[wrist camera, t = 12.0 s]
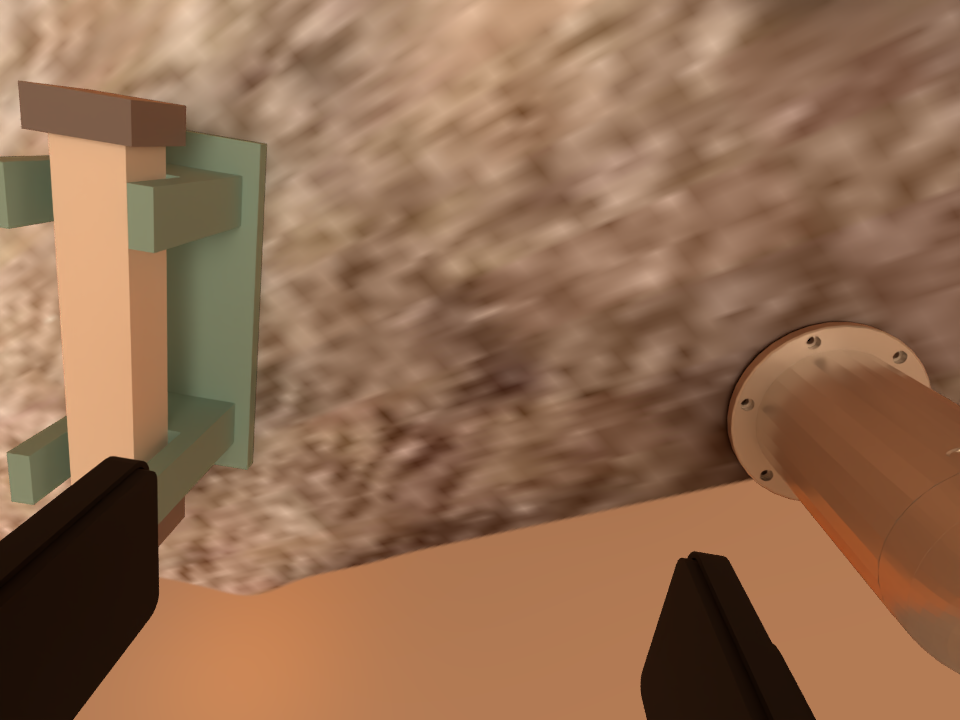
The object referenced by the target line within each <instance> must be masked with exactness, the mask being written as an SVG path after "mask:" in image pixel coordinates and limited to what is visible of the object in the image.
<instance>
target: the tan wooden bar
mask: <svg viewBox="0 0 960 720" xmlns="http://www.w3.org/2000/svg"><path fill="white" fill-rule="evenodd" d="M18 87H19V100H20V112H21V125H22V128H23V129H29V130H35V131H40V132H46V133H48V139H49V154H50V169H51V185H52V200H53V215H54V230H55V245H56V260H57V275H58V290H59V306H60V321H61V336H62V351H63V366H64V381H65V396H66V411H67V427H68V442H69V457H70V472H71V485H73V484H74V483H75V482H76V481H78V480H79V479H80V478H81V477H83V476H84V475H85V474H87V473H88V472H89V471H90V470H92V469H93V468H94V467H96V466H97V465H98V464H99V463H101V462H102V461H103V460H105V459H106V458H108V457H110V456H117V457H123V458H129V459H135V460H141V461H145V462H146V463H147V462H148V461H149V460H151V459H152V458H153V457H154V456H155V455H156V454H157V453H159V452H160V451H161V450H162V449H163V448H164V447H165V446H166V445H168V392H167V254H166V250H163V251H159V252H156V253H150V252H144V251H138V250H132V249H129V248H128V211H127V183H129V182H139V181H148V180H158V179H166V146H186V106H184V105H178V104H172V103H166V102H160V101H154V100H148V99H142V98H137V97H131V96H125V95H119V94H113V93H107V92H101V91H95V90H89V89H81V88H73V87H65V86H57V85H49V84H41V83H34V82H26V81H18ZM184 517H185V496H184V497H183V498H182V499H181V500H180V502H179V503H178V504H177V505H176V506H175V507H174V508H173V509H172V510H171V511H170V512H169V514H168V515H167V516H166V517H165V518H164V519H163V520H162V521H161V522H160V523H159V524H158V547H159V546H160V544H161V543H162V542H163V541H164V540H165V539H166V538H167V536H168V535H169V534H170V533H171V532H172V531H173V530H174V528H175V527H176V526H177V525H178V524H179V523H180V521H181V520H182V519H183V518H184Z"/></svg>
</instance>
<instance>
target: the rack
mask: <svg viewBox="0 0 960 720" xmlns="http://www.w3.org/2000/svg"><path fill="white" fill-rule="evenodd" d="M266 152H267V144H264V143H258V142H252V141H246V140H241V139H235V138H229V137H223V136H217V135H211V134H205V133H199V132H193V131H187V130H186V146H166V179H158V180H148V181H139V182H129V183H127V211H128V248H129V249H132V250H138V251H144V252H150V253H156V252H159V251H163V250H166V254H167V392H168V445H166V446H165V447H164V448H163V449H162V450H161V451H160V452H159V453H157V454H156V455H155V456H154V457H153V458H152V459H151V460H149V461H148V462H147V464H148V466H149V470H150V471H154V472H156V475H157V480H158V524H159V523H160V522H161V521H162V520H163V519H164V518H165V517H166V516H167V515H168V514H169V512H170V511H171V510H172V509H173V508H174V507H175V506H176V505H177V504H178V503H179V502H180V500H181V499H182V498H183V497H184V496H185V495H186V494H187V493H188V492H189V491H190V490H191V489H192V487H193V486H194V485H195V484H196V483H197V482H198V481H199V480H200V479H201V478H202V477H203V476H204V474H205V473H206V472H207V471H208V470H209V469H210V468H211V467H212V466H213V465H214V464H215V465H221V466H227V467H233V468H239V469H245V470H248V468H249V467H250V466H251V465H252V463H253V446H254V423H255V400H256V378H257V355H258V333H259V310H260V288H261V265H262V243H263V220H264V197H265V175H266ZM51 221H54V215H53V200H52V185H51V169H50V155H44V156H9V157H0V227H1V228H7V229H11V228H16V227H22V226H28V225H34V224H40V223H45V222H51ZM7 462H8V472H9V481H10V491H11V501H12V502H18V503H24V504H31V505H34V504H35V503H37V502H38V501H39V500H41V499H42V498H43V497H45V496H46V495H47V494H49V493H50V492H51V491H53V490H54V489H55V488H57V487H58V486H59V485H60V484H62V483H63V482H64V481H66V480H67V479H68V478H70V477H71V472H70V457H69V442H68V427H67V416H65V417H64V418H62V419H60V420H59V421H57V422H55V423H54V424H52V425H51V426H49V427H47V428H46V429H44V430H43V431H41V432H39V433H38V434H36V435H34V436H33V437H31V438H30V439H28V440H26V441H25V442H23V443H21V444H20V445H18V446H17V447H15V448H13V449H12V450H10V451H8V452H7Z"/></svg>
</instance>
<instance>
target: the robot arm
mask: <svg viewBox="0 0 960 720" xmlns="http://www.w3.org/2000/svg"><path fill="white" fill-rule="evenodd" d="M809 338H811V339H810V341H808V339H809ZM807 341H808V342H807ZM745 399H746V401H745V402H743V403H742V401H743V400H745ZM727 425H728V436H729V439H730V443H731V447H732V450H733V451H734V453H735V455H736V457H737V459H738V461H739V462H740V464H741V465H742V466H743V468H744V469H745V470H746V472H747V473H748V474H749V475H750V476H751V477H752V478H753V479H754V480H755V481H756V482H757V483H758V484H759V485H761V486H762V487H764V488H766V489H768V490H769V491H771V492H773V493H775V494H777V495H780V496H783V497H785V498H788V499H793V500H798V501H801V502H802V504H803V505H804V506H805V507H806V509H807V510H808V511H809V512H810V513H811V515H812V516H813V517H814V518H815V520H816V521H817V522H818V523H819V524H820V526H821V527H822V528H823V530H824V531H825V532H826V533H827V534H828V536H829V537H830V538H831V539H832V541H833V542H834V543H835V544H836V546H837V547H838V548H839V549H840V551H841V552H842V553H843V554H844V555H845V556H846V558H847V559H848V560H849V562H850V563H851V564H852V565H853V567H854V568H855V569H856V570H857V572H858V573H859V574H860V575H861V576H862V578H863V579H864V580H865V581H866V583H867V584H868V585H869V586H870V588H871V589H872V590H873V591H874V592H875V594H876V595H877V596H878V597H879V599H880V600H881V601H882V602H883V603H884V605H885V606H886V607H887V608H888V610H889V611H890V612H891V613H892V615H893V616H894V617H896V619H897V620H898V621H899V623H900V624H901V625H902V626H903V627H904V629H905V630H906V631H907V632H908V633H909V635H910V636H911V637H912V638H913V639H914V640H915V641H916V642H917V643H918V644H919V645H920V646H921V647H922V648H923V649H924V650H925V651H927V652H928V653H929V654H930V655H931V656H933V657H934V658H935V659H936V660H938V661H939V662H941V663H942V664H944V665H945V666H947V667H948V668H950V669H952V670H953V671H955V672H957V673H959V674H960V406H959V405H958V404H956V403H954V402H952V401H951V400H949V399H947V398H946V397H944V396H942V395H941V394H939V393H937V392H935V391H934V390H932V389H931V386H930V381H929V378H928V375H927V373H926V370H925V368H924V366H923V364H922V362H921V361H920V360H919V358H918V357H917V356H916V354H915V353H914V352H913V351H912V350H911V349H910V348H909V347H908V346H906V345H905V344H904V343H903V342H902V341H900V340H899V339H897V338H895V337H894V336H892V335H890V334H888V333H886V332H884V331H882V330H879V329H877V328H874V327H871V326H869V325H865V324H859V323H853V322H827V323H822V324H817V325H812V326H808V327H805V328H803V329H800V330H797V331H795V332H792V333H790V334H788V335H786V336H784V337H783V338H781V339H779V340H777V341H776V342H774V343H773V344H771V345H770V346H769V347H768V348H766V349H765V350H764V351H763V352H761V353H760V354H759V355H758V356H757V357H756V358H755V359H754V360H753V362H752V363H751V364H750V365H749V366H748V367H747V368H746V370H745V371H744V373H743V374H742V376H741V378H740V379H739V381H738V383H737V384H736V386H735V389H734V392H733V394H732V397H731V400H730V403H729V410H728V416H727ZM158 597H159V558H158V480H157V475H156V472H154V471H150V470H149V466H148V464H147V463H146V462H145V461H141V460H135V459H129V458H123V457H117V456H110V457H108V458H106V459H105V460H103V461H102V462H101V463H99V464H98V465H97V466H96V467H94V468H93V469H92V470H90V471H89V472H88V473H87V474H85V475H84V476H83V477H81V478H80V479H79V480H78V481H76V482H75V483H74V484H73V485H71V486H70V487H69V488H67V489H66V490H65V491H64V492H62V493H61V494H60V495H58V496H57V497H56V498H55V499H53V500H52V501H51V502H50V503H48V504H47V505H46V506H44V507H43V508H42V509H41V510H39V511H38V512H37V513H35V514H34V515H33V516H32V517H30V518H29V519H28V520H26V521H25V522H24V523H23V524H21V525H20V526H19V527H18V528H16V529H15V530H14V531H12V532H11V533H10V534H9V535H7V536H6V537H5V538H3V539H2V540H1V541H0V720H73V719H74V718H75V716H76V715H77V714H78V712H79V711H80V710H81V708H82V707H83V706H84V704H85V703H86V702H87V700H88V699H89V698H90V697H91V695H92V694H93V693H94V691H95V690H96V688H97V687H98V686H99V685H100V683H101V682H102V681H103V679H104V678H105V677H106V675H107V674H108V673H109V671H110V670H111V669H112V667H113V666H114V665H115V663H116V662H117V661H118V660H119V658H120V657H121V656H122V654H123V653H124V652H125V650H126V649H127V648H128V646H129V645H130V644H131V642H132V641H133V640H134V638H135V637H136V636H137V634H138V633H139V632H140V630H141V629H142V628H143V627H144V625H145V623H147V621H148V620H149V619H150V617H151V616H152V614H153V612H154V610H155V608H156V605H157V602H158ZM641 696H642V700H643V705H644V709H645V713H646V717H647V720H816V719H815V717H814V715H813V713H812V711H811V709H810V707H809V706H808V704H807V702H806V700H805V698H804V696H803V694H802V692H801V690H800V689H799V687H798V685H797V683H796V681H795V679H794V677H793V675H792V673H791V672H790V670H789V668H788V666H787V664H786V662H785V660H784V658H783V657H782V655H781V653H780V651H779V650H778V649H777V647H776V646H775V645H774V644H772V642H771V640H770V638H769V637H768V634H767V633H766V631H765V629H764V627H763V625H762V623H761V621H760V619H759V617H758V615H757V614H756V612H755V610H754V608H753V606H752V604H751V602H750V600H749V598H748V596H747V594H746V592H745V590H744V588H743V587H742V585H741V583H740V581H739V579H738V577H737V575H736V573H735V571H734V570H733V568H732V566H731V564H730V562H729V560H728V559H727V558H726V557H724V556H719V555H713V554H706V553H701V552H695V551H694V552H692V553H690V555H689V556H688V558H687V559H686V558H680V559H679V560H678V562H677V564H676V567H675V571H674V574H673V577H672V580H671V583H670V586H669V589H668V592H667V595H666V599H665V602H664V605H663V608H662V611H661V614H660V617H659V621H658V624H657V627H656V630H655V633H654V636H653V640H652V643H651V646H650V649H649V652H648V655H647V659H646V662H645V665H644V668H643V671H642V675H641Z"/></svg>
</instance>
